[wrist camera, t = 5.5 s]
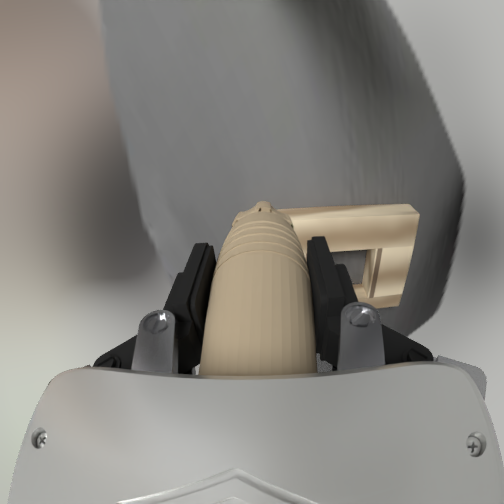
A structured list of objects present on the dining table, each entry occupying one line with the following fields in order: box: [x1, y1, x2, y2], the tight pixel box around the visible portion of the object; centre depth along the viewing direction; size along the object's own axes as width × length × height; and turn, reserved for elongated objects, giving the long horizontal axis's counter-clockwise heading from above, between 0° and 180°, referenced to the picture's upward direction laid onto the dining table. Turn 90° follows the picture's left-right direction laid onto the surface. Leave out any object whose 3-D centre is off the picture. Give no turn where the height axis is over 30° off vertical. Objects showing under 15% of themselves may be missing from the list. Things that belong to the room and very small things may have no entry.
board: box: [277, 204, 420, 309], centre depth 33 cm, size 14×20×3 cm
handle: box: [198, 201, 317, 376], centre depth 10 cm, size 5×6×15 cm
